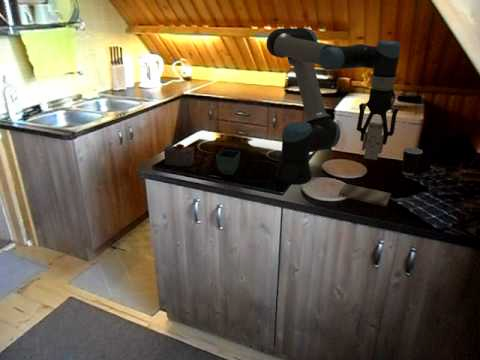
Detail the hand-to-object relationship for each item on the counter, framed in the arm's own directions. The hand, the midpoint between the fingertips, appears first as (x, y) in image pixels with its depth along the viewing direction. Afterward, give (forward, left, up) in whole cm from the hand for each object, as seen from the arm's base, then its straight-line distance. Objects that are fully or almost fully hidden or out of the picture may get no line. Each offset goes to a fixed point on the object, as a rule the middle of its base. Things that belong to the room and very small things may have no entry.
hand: (371, 150), depth 143 cm
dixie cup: (+12, +33, -19) cm, 40 cm away
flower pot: (-58, -7, -19) cm, 61 cm away
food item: (-82, -10, -19) cm, 85 cm away
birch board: (0, 0, -19) cm, 19 cm away
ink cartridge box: (0, 0, -2) cm, 2 cm away
